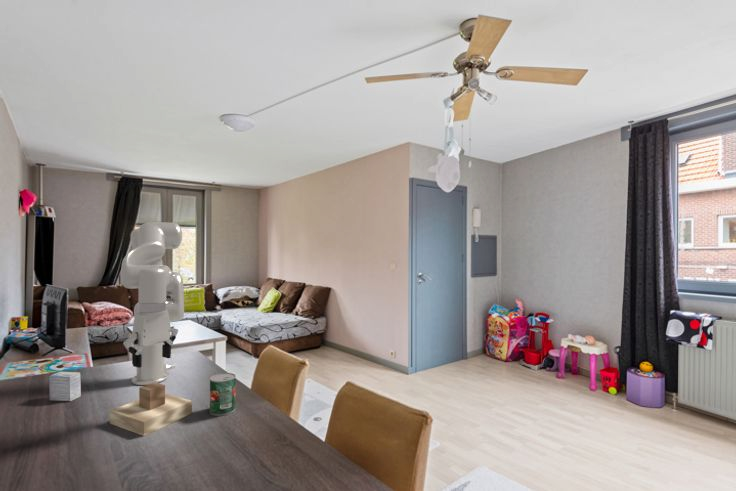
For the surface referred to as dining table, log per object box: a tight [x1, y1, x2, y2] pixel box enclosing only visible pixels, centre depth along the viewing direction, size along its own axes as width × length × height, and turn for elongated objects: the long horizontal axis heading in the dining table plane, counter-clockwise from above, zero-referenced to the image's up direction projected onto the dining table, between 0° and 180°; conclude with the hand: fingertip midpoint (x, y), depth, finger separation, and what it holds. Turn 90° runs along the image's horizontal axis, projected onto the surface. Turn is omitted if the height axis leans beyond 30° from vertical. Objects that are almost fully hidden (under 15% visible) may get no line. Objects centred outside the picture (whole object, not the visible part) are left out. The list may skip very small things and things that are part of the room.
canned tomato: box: [209, 372, 237, 417], centre depth 125 cm, size 8×8×11 cm
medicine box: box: [48, 371, 82, 402], centre depth 133 cm, size 8×4×9 cm, turn 84°
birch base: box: [109, 393, 193, 437], centre depth 119 cm, size 16×16×4 cm
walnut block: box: [138, 382, 166, 410], centre depth 119 cm, size 5×5×6 cm
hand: (152, 361), depth 119 cm, fingers open, 9 cm apart
